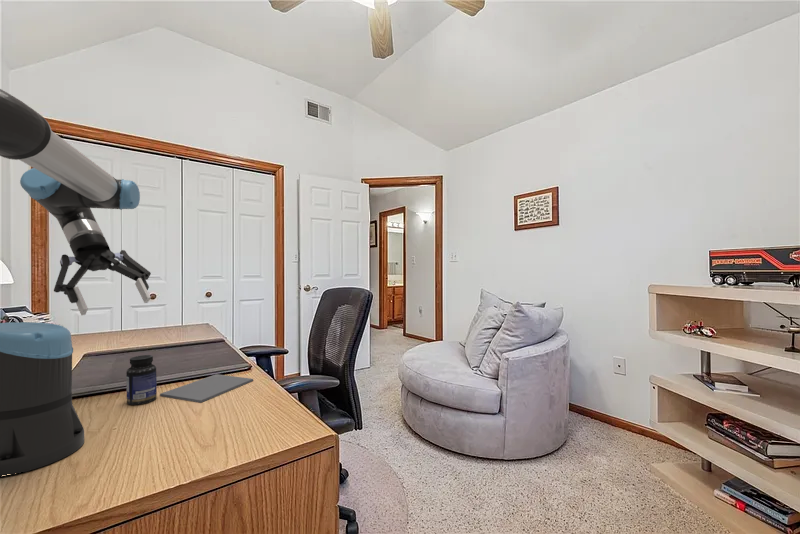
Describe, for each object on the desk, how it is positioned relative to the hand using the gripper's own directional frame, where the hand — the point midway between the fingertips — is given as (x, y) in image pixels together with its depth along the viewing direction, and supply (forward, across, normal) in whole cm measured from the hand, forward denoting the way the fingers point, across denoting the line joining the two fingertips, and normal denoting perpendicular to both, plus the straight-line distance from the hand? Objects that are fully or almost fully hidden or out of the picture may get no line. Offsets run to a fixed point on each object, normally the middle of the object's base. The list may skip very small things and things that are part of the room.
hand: (118, 305), depth 92 cm
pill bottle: (+24, +1, -8) cm, 25 cm away
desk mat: (+28, -13, -5) cm, 31 cm away
